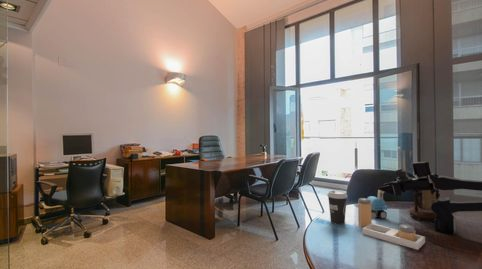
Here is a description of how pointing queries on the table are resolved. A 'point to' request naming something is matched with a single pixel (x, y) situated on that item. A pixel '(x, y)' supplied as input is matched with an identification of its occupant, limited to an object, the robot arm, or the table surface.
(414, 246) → the housing
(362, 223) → the knob-topped wooden post
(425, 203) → the scroll
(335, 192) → the coffee cup
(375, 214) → the toy excavator
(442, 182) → the robot arm
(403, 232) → the grey and tan piece
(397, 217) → the table surface
